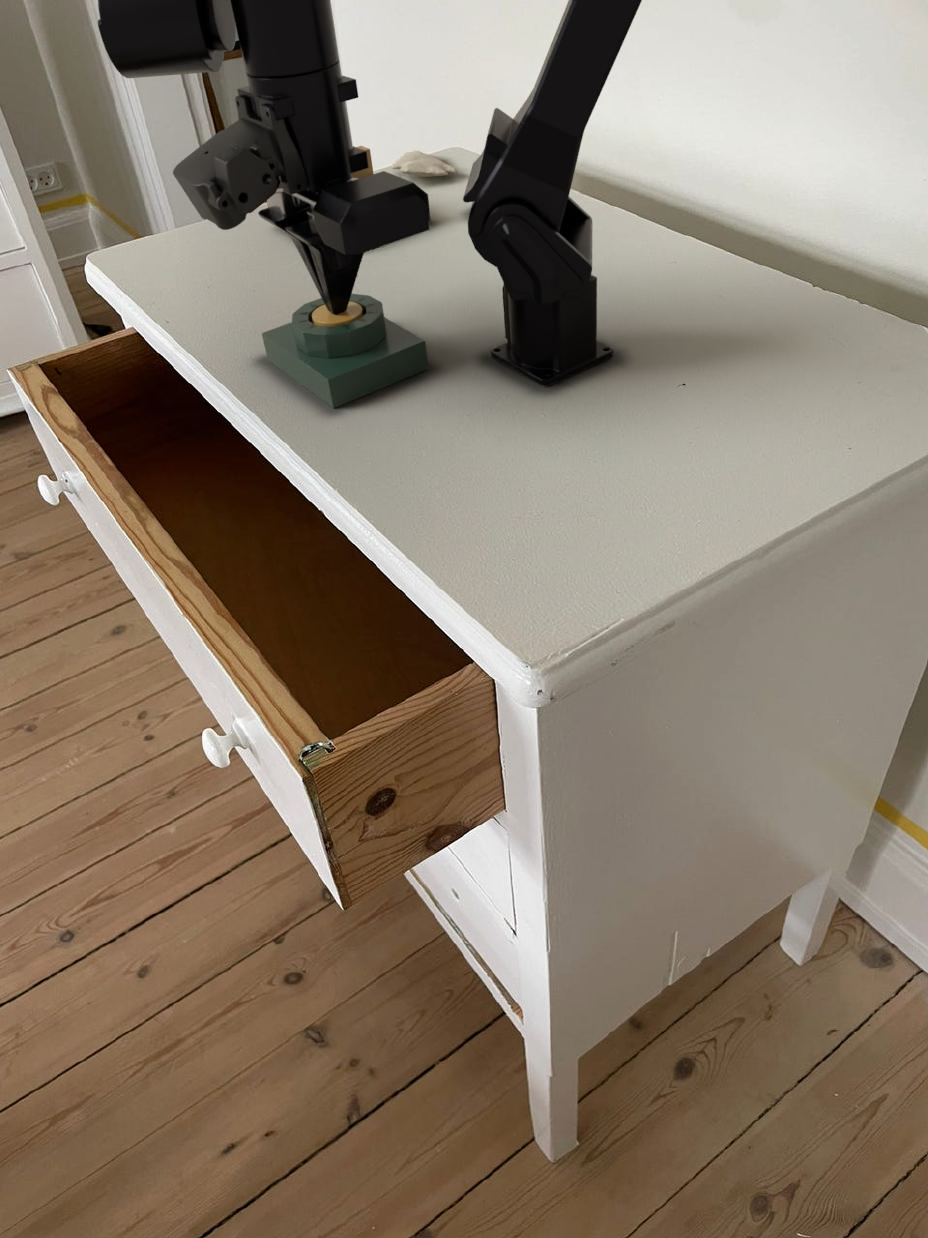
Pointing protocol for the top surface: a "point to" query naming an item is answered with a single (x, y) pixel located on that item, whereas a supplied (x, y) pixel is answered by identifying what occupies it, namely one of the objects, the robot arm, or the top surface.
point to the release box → (345, 352)
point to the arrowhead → (422, 165)
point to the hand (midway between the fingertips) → (337, 311)
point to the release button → (328, 319)
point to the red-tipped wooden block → (365, 171)
